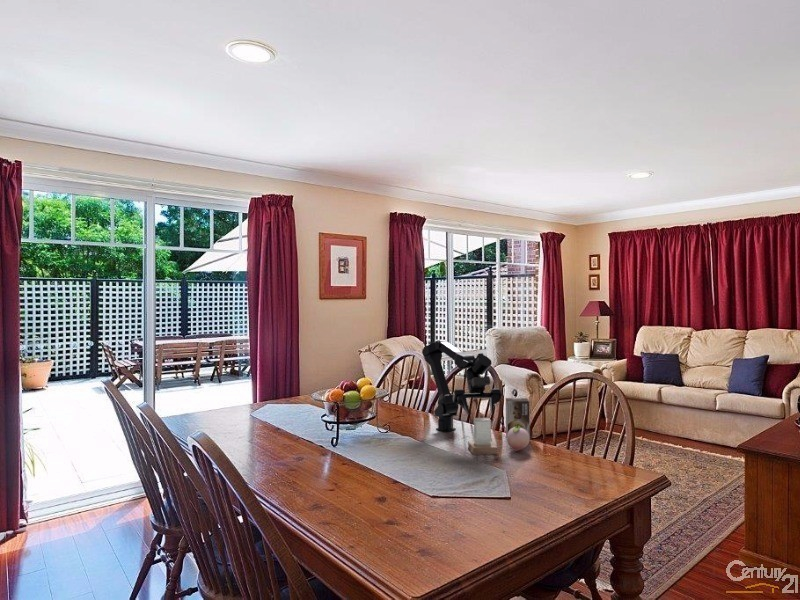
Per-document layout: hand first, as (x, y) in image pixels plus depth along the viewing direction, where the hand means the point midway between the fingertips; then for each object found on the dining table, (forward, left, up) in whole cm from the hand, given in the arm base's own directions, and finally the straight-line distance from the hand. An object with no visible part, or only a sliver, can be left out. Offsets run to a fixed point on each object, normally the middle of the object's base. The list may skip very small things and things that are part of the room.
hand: (480, 414), depth 196 cm
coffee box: (-23, +2, -13) cm, 27 cm away
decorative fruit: (-7, +12, -13) cm, 19 cm away
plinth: (+2, +2, -13) cm, 13 cm away
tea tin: (+2, +2, -11) cm, 11 cm away
